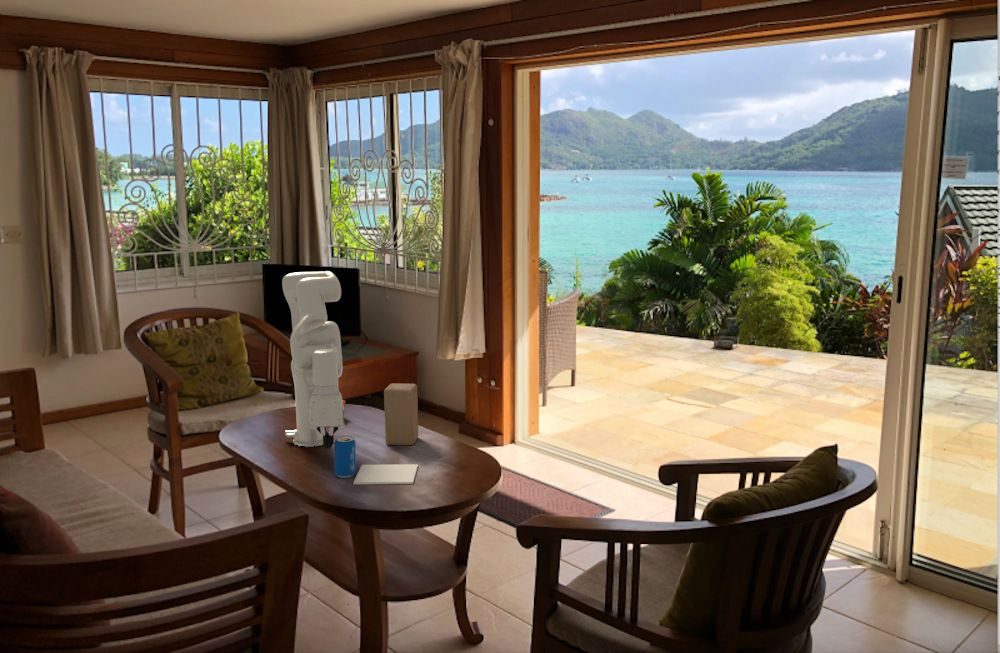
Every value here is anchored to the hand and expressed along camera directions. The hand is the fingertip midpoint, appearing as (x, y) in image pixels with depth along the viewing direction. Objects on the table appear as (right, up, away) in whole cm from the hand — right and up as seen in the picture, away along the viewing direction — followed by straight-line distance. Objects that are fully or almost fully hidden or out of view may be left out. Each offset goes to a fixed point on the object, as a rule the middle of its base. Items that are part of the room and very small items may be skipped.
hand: (328, 446), depth 259 cm
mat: (+18, -9, +2) cm, 20 cm away
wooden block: (+19, -3, +35) cm, 40 cm away
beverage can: (+5, -9, +2) cm, 11 cm away
